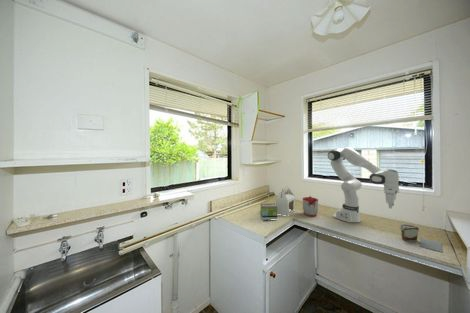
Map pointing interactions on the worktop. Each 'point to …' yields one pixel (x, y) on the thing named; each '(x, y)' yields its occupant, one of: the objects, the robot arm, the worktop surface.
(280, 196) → the gable box
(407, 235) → the food container
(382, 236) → the worktop surface
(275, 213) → the tea box
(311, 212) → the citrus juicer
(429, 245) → the mat
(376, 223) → the worktop surface
